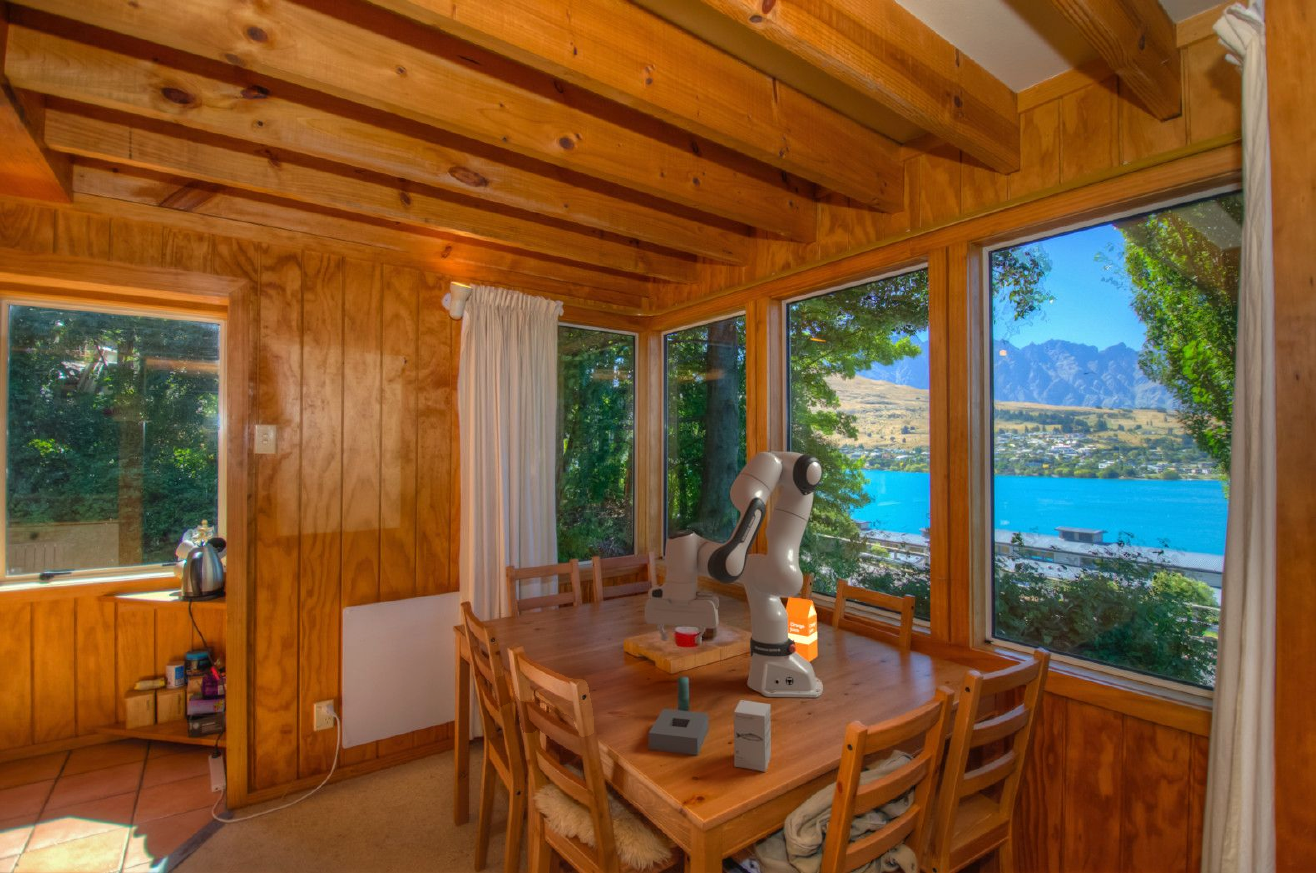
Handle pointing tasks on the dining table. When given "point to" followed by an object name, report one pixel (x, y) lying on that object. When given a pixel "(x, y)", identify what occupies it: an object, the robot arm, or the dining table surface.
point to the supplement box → (752, 735)
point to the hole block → (679, 731)
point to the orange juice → (802, 627)
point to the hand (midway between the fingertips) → (681, 641)
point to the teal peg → (683, 693)
